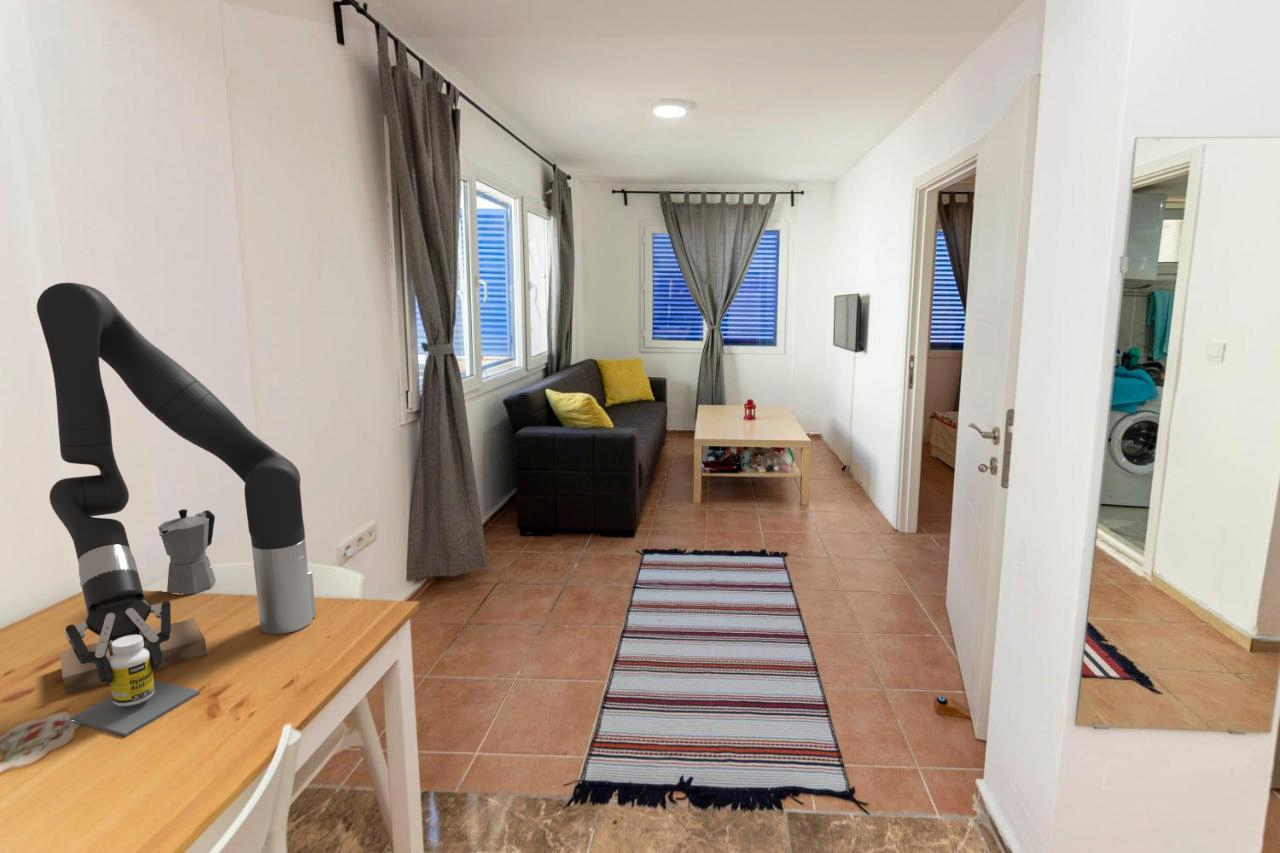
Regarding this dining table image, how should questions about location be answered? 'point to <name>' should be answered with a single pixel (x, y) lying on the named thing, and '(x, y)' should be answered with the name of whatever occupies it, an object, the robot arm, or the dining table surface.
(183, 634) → the bottle holder tray
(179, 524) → the coffeepot
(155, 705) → the slate pad
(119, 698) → the supplement bottle
